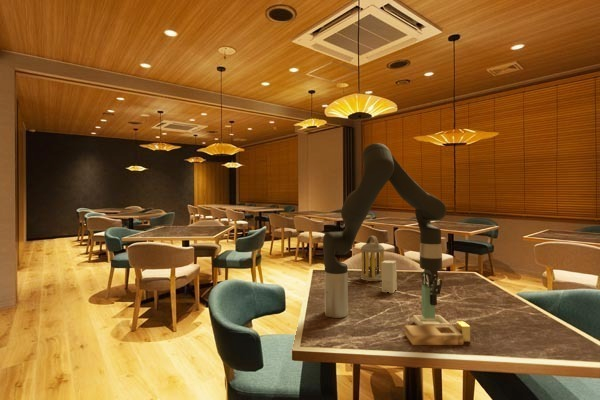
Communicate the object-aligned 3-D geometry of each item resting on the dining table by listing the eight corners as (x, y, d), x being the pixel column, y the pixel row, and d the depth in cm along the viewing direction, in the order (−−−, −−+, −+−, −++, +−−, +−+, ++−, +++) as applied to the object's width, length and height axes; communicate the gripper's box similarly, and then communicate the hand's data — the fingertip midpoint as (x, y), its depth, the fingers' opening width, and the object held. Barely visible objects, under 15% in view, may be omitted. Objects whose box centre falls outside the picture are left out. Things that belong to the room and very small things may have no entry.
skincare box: (393, 293, 157) (393, 263, 156) (381, 292, 160) (380, 262, 159) (397, 289, 164) (397, 260, 164) (385, 287, 167) (385, 259, 167)
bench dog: (462, 341, 104) (462, 326, 104) (456, 336, 108) (456, 321, 108) (470, 341, 104) (469, 326, 104) (463, 336, 108) (463, 321, 108)
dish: (422, 331, 112) (422, 324, 112) (413, 321, 121) (413, 315, 121) (450, 331, 112) (450, 324, 112) (439, 321, 121) (439, 314, 121)
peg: (425, 318, 115) (425, 287, 115) (421, 314, 118) (421, 285, 118) (434, 318, 115) (435, 287, 115) (431, 315, 118) (431, 285, 118)
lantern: (356, 277, 190) (355, 234, 190) (377, 275, 195) (376, 233, 194) (368, 283, 177) (367, 237, 177) (390, 280, 181) (390, 236, 181)
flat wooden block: (412, 344, 102) (412, 335, 102) (404, 334, 110) (404, 325, 110) (463, 344, 102) (463, 335, 102) (451, 334, 110) (451, 325, 110)
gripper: (450, 259, 109) (450, 309, 109) (433, 252, 123) (433, 297, 123) (427, 259, 109) (428, 309, 109) (413, 252, 123) (414, 297, 123)
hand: (431, 302), depth 116 cm, fingers closed on peg, 3 cm apart
